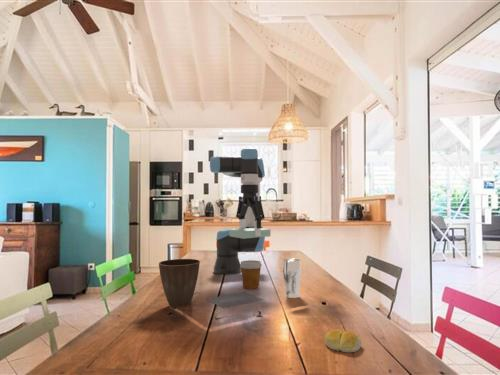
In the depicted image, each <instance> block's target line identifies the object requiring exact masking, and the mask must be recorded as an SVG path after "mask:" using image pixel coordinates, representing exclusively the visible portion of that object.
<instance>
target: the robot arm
mask: <svg viewBox="0 0 500 375" xmlns="http://www.w3.org/2000/svg"><path fill="white" fill-rule="evenodd" d="M258 154H259V152H258V149H257V148H242V149H241V150H240V156H234V155H233V156H218V155H217V156H211V157H210V159H209V171H210V172H211V173H214V174H215V173H216V174H219V173H220V174H223V175H225V176H228V177H232V178H240V183H241V185H240V193H241V194H242V196H241V195H240V196H239V197H238V205H237V209H236V215H235V218H238V223H239V224H238V225H239V228H238V227H235V228H233V227H232V228H226V229H221V230H220V229H219V230H218V231H217V232H216V259H215V261H214V265H213V273H214V274H219V275H235V274H239V273H242V272H241V267H240V264H241V262H240V260H239V253H260V252H262V251H264V248H265V239H266V237H256V236H261V228H264V227H263V226H262V221H263V220H265V213H264V208H263V203H262V196H261V193H260V192H261V189H260V188H261V185H260V184H261V182H262V181H263V178H265V176H266V174H265V173H266V172H265V166H264V160H263V158H262V157H259V155H258ZM242 228H254V229H255V237H256V238H245V239H242V238H236V237H231V236H229V229H242Z"/></svg>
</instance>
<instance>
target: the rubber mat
mask: <svg viewBox="0 0 500 375" xmlns="http://www.w3.org/2000/svg"><path fill="white" fill-rule="evenodd" d="M205 300H206V301H207V302H210V303H212V304H214V305H216V306H218V307H220V308H222V309H226V308H231V307H236V306H241V305H246V304H247V305H248V304H252V303H256V302H260V301H265V300H266V299H264V298H261V297H259V296H256V295H254V294H252V293H249V292H246V291H241V292H236V293H231V294H225V295H221V296H214V297H210V298H205Z"/></svg>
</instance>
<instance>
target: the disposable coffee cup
mask: <svg viewBox="0 0 500 375" xmlns="http://www.w3.org/2000/svg"><path fill="white" fill-rule="evenodd" d="M262 265H263V264H262V263H261V261H260V260H253V259H252V260H242V261H241V262H240V267H241V272H240V273H241V278H242V279H241V280H242V286H243V289H244V290H248V291H254V290H257V289H259V287H260V279H261V268H262Z"/></svg>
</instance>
